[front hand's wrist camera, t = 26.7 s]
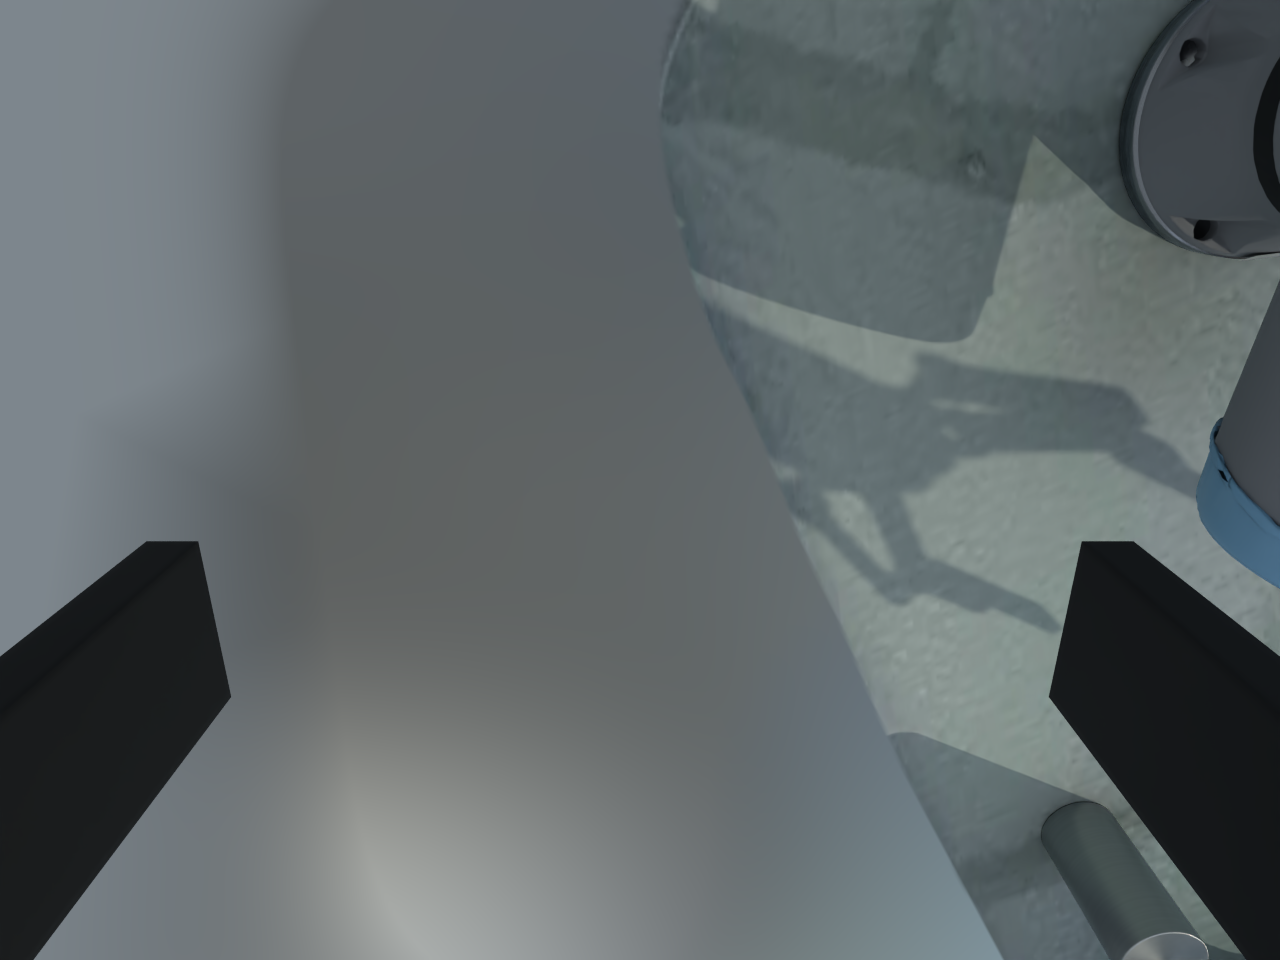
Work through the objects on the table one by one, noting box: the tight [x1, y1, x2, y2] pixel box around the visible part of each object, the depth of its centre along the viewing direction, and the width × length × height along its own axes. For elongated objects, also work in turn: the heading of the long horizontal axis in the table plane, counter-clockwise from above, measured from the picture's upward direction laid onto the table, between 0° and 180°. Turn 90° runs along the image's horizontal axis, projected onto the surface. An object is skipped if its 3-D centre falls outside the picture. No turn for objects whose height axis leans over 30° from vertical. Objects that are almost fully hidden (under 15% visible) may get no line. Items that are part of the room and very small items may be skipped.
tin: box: [1041, 802, 1209, 960], centre depth 61 cm, size 6×6×12 cm
